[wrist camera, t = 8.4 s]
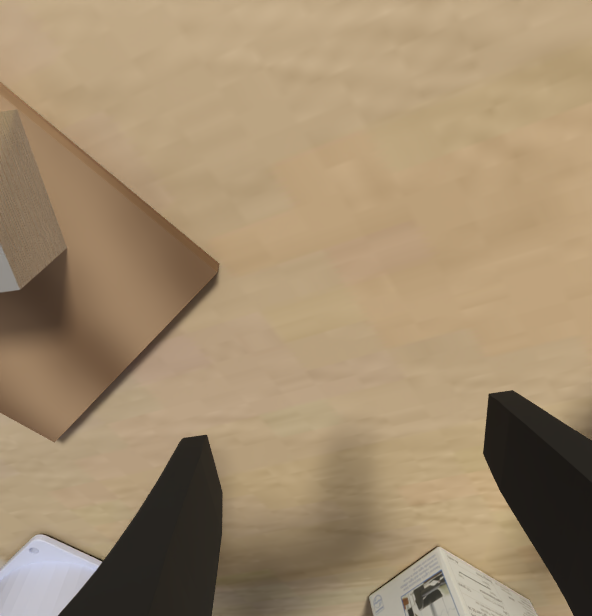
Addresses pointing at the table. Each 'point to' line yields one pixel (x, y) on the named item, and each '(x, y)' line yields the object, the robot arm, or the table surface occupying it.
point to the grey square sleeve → (23, 210)
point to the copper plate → (88, 286)
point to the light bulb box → (447, 591)
